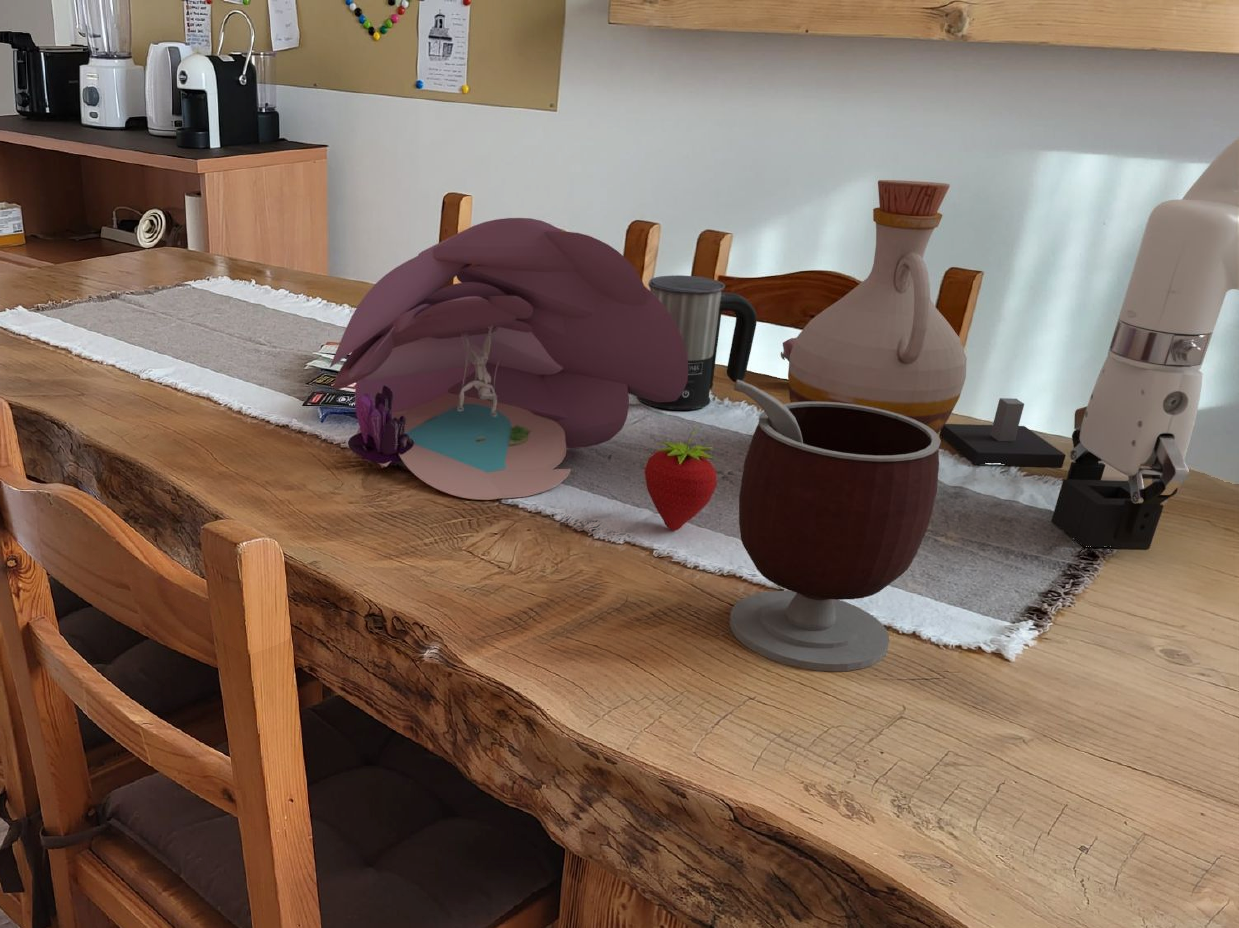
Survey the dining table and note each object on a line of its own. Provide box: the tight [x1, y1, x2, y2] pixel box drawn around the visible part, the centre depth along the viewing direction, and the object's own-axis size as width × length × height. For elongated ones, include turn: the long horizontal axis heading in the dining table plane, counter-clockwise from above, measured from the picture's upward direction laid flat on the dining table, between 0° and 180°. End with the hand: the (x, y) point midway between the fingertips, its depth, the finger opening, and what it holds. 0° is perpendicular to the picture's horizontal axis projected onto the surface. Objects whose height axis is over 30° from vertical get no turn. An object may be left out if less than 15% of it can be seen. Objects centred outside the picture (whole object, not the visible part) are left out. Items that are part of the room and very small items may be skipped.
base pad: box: [939, 397, 1067, 468], centre depth 134 cm, size 10×10×6 cm
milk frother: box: [636, 274, 758, 411], centre depth 148 cm, size 14×16×15 cm
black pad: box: [1050, 478, 1165, 550], centre depth 113 cm, size 6×6×4 cm
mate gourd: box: [729, 380, 942, 673], centre depth 89 cm, size 16×14×20 cm
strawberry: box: [644, 427, 718, 531], centre depth 109 cm, size 6×8×10 cm
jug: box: [787, 179, 967, 435], centre depth 121 cm, size 20×18×30 cm
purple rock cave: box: [329, 217, 688, 501], centre depth 119 cm, size 35×24×28 cm
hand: (1102, 520), depth 113 cm, fingers open, 9 cm apart
